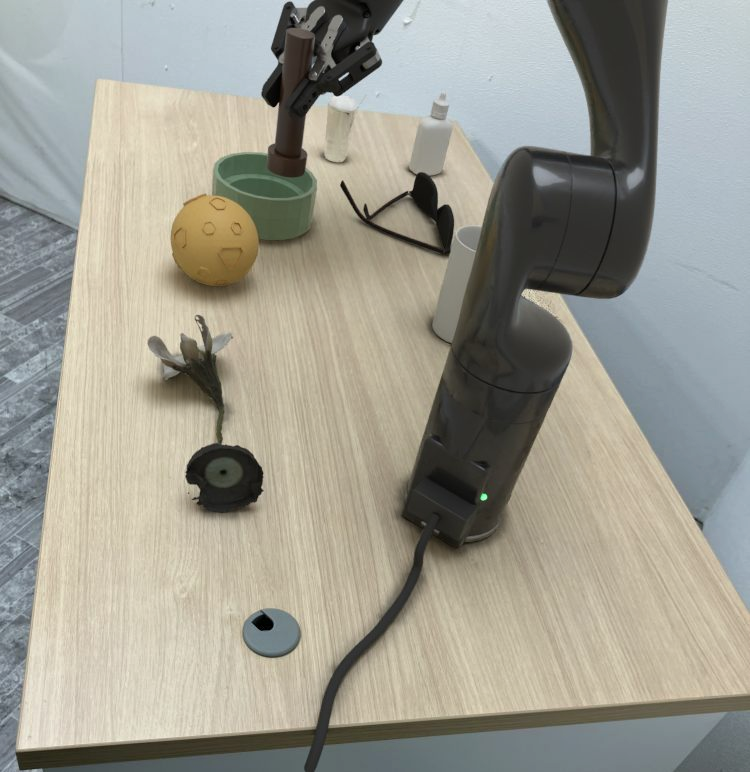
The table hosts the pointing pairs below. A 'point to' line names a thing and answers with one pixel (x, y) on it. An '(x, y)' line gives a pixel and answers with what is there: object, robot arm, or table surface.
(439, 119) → the eye dropper bottle
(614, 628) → the table surface
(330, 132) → the milkshake
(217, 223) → the stress ball
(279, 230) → the bowl
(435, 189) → the sunglasses
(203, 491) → the artificial flower
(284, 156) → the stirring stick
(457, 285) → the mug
